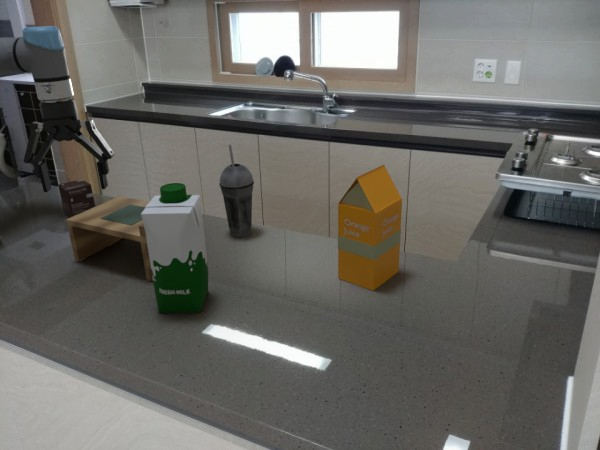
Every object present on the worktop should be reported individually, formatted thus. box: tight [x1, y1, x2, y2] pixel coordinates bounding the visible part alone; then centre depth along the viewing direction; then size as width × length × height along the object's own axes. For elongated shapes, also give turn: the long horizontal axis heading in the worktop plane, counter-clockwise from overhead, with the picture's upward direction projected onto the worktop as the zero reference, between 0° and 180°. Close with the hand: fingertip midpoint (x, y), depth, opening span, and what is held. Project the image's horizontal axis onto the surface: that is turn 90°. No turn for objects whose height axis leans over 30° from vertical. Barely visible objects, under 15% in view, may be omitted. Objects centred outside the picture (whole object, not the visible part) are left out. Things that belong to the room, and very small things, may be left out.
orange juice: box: [337, 164, 403, 292], centre depth 94 cm, size 8×9×20 cm
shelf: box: [65, 195, 153, 282], centre depth 106 cm, size 20×14×11 cm
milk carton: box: [141, 182, 209, 314], centre depth 88 cm, size 9×9×20 cm
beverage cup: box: [218, 144, 255, 238], centre depth 113 cm, size 7×7×20 cm
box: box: [58, 179, 96, 218], centre depth 130 cm, size 6×6×7 cm
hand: (76, 189), depth 129 cm, fingers open, 13 cm apart
